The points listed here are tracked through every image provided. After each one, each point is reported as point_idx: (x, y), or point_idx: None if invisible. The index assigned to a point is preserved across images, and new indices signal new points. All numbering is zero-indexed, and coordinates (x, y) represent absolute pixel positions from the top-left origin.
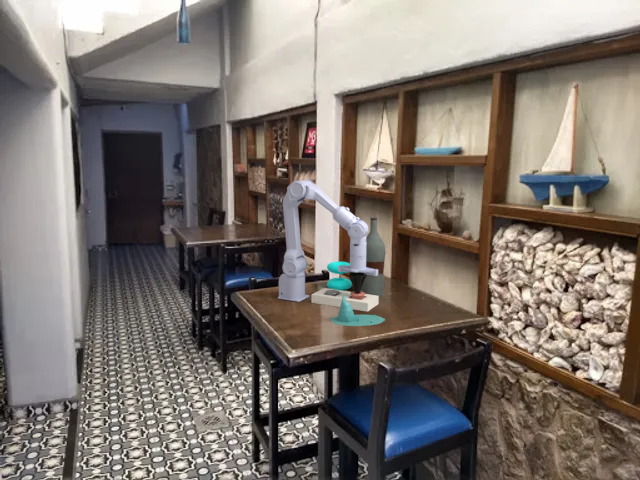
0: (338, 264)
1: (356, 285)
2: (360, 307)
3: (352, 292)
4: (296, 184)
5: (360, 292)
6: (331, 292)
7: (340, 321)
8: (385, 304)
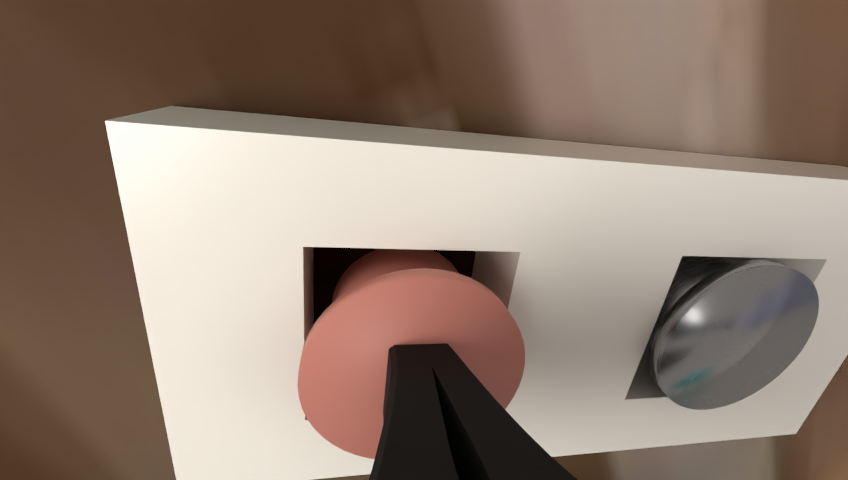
0: None
1: (449, 457)
2: (278, 121)
3: (498, 372)
4: None
5: (383, 414)
6: (751, 315)
7: None
8: (137, 424)
